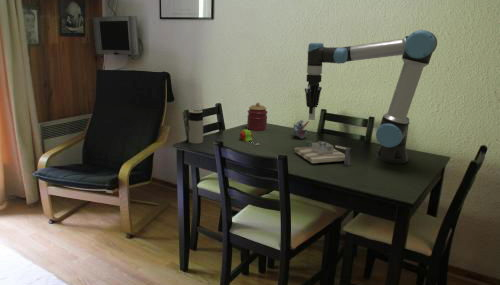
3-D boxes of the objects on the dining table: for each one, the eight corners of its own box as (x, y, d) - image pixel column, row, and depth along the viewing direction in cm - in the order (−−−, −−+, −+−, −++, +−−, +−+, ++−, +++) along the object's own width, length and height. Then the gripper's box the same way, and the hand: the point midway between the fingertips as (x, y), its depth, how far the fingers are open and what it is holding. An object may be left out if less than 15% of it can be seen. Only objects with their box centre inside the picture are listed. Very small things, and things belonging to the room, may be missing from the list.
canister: (257, 126, 266) (258, 100, 261) (270, 130, 256) (272, 103, 251) (242, 128, 257) (243, 101, 253) (255, 132, 248) (256, 105, 243)
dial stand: (349, 165, 190) (351, 148, 188) (347, 166, 189) (349, 149, 187) (335, 161, 195) (336, 145, 193) (333, 162, 194) (334, 145, 192)
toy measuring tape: (245, 137, 235) (245, 126, 234) (262, 145, 219) (263, 134, 217) (236, 138, 232) (236, 127, 230) (252, 146, 216) (253, 135, 214)
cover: (333, 153, 197) (334, 143, 195) (318, 154, 194) (319, 144, 193) (325, 149, 204) (326, 139, 203) (311, 150, 201) (312, 140, 200)
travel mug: (204, 141, 224) (204, 110, 219) (201, 144, 216) (201, 112, 211) (190, 140, 224) (190, 109, 220) (187, 143, 217) (186, 111, 212)
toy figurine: (307, 141, 232) (308, 121, 229) (288, 139, 234) (289, 120, 231) (308, 136, 243) (309, 117, 239) (290, 135, 245) (291, 116, 242)
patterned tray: (348, 160, 194) (349, 152, 193) (312, 163, 187) (312, 155, 186) (324, 147, 215) (325, 140, 214) (291, 149, 209) (291, 142, 208)
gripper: (314, 73, 207) (312, 116, 213) (300, 74, 197) (298, 120, 203) (327, 73, 202) (324, 118, 208) (313, 75, 193) (310, 122, 199)
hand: (311, 119), depth 206 cm, fingers closed
